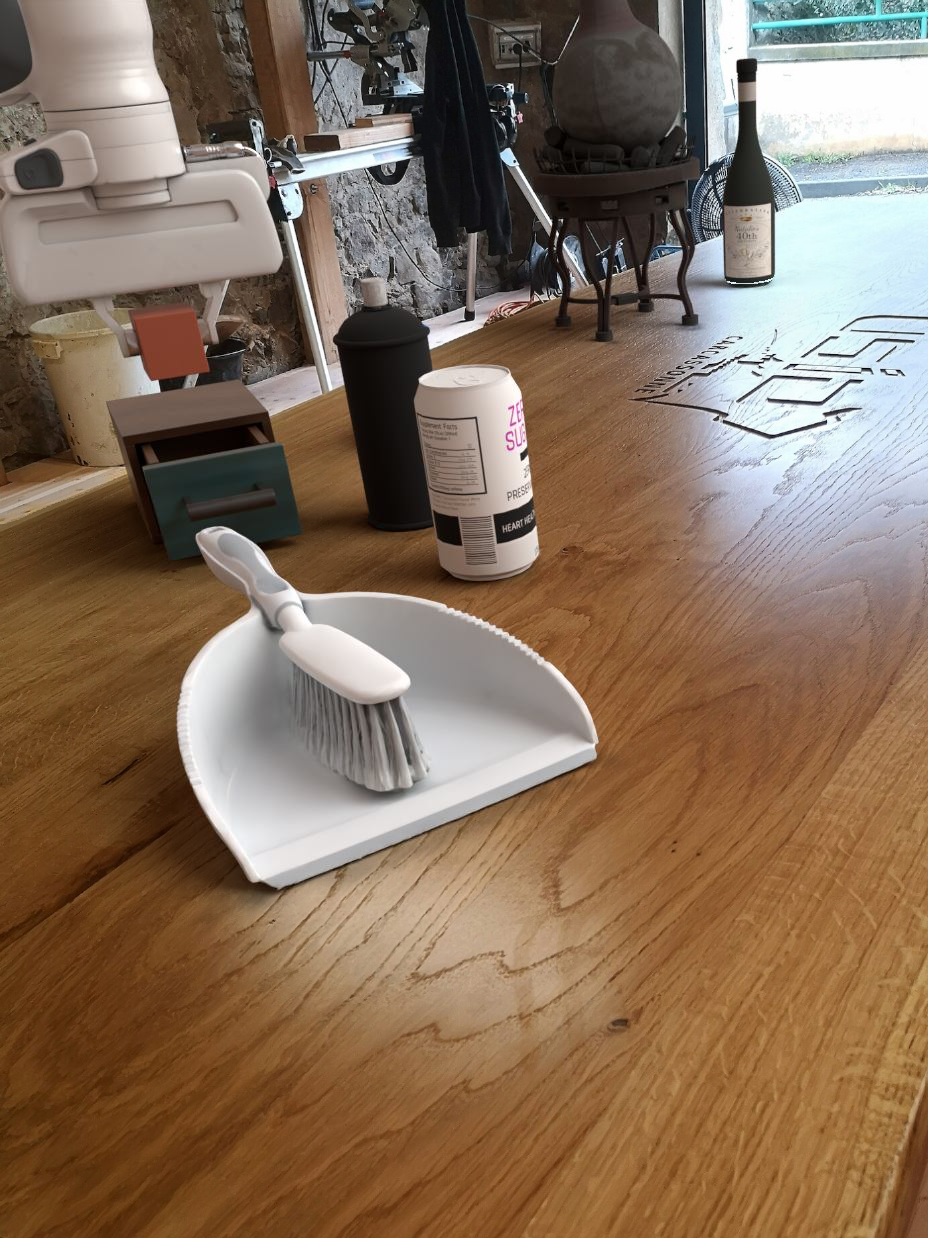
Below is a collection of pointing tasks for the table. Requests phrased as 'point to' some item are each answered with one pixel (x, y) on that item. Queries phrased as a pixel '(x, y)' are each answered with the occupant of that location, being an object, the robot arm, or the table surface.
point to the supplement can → (477, 471)
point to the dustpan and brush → (359, 719)
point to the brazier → (616, 150)
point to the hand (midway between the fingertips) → (170, 349)
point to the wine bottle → (748, 195)
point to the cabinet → (179, 427)
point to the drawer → (219, 487)
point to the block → (169, 341)
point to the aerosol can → (387, 406)
